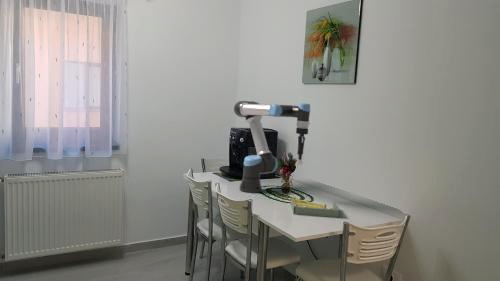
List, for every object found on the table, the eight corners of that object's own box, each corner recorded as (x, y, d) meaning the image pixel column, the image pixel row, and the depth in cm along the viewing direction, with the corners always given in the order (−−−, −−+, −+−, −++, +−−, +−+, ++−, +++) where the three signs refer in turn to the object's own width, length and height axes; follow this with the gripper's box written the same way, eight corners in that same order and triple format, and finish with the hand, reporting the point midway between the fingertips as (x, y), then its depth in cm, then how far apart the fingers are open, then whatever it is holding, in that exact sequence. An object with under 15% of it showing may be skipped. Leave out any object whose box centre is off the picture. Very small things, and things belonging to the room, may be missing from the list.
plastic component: (326, 206, 220) (325, 202, 211) (323, 218, 218) (322, 215, 209) (294, 198, 227) (291, 194, 218) (291, 210, 224) (288, 207, 215)
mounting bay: (290, 205, 224) (291, 198, 224) (334, 208, 224) (334, 201, 223) (293, 214, 208) (294, 206, 207) (340, 217, 207) (341, 209, 207)
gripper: (309, 128, 230) (306, 166, 233) (307, 127, 243) (303, 162, 246) (297, 128, 230) (294, 165, 233) (295, 126, 243) (292, 162, 246)
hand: (299, 164), depth 239 cm, fingers closed
